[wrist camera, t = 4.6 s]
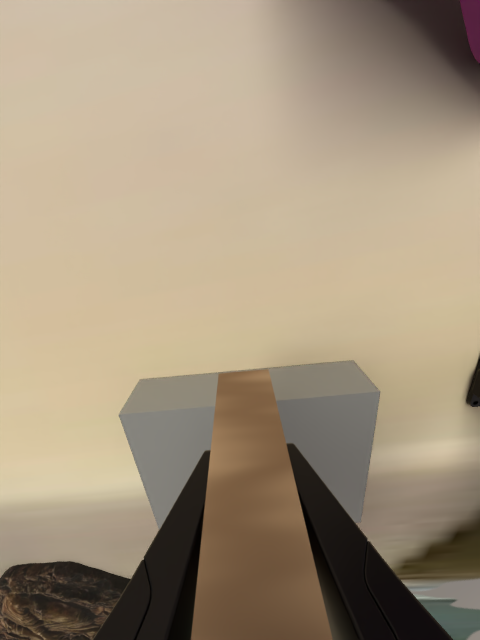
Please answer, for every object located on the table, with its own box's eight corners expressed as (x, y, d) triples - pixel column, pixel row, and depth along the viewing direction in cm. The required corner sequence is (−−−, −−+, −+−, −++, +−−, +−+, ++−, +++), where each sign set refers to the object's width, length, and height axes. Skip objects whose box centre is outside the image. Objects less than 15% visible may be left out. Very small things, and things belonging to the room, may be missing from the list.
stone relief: (-23, 589, 28) (211, 635, 34) (10, 542, 32) (213, 590, 38) (-44, 671, 36) (147, 697, 42) (-16, 626, 41) (154, 655, 46)
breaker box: (353, 360, 22) (380, 391, 18) (342, 478, 28) (360, 522, 24) (140, 379, 23) (118, 414, 19) (172, 492, 29) (162, 538, 24)
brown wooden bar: (268, 369, 12) (408, 956, 2) (270, 408, 12) (377, 948, 3) (218, 373, 12) (156, 968, 2) (224, 412, 12) (195, 957, 3)
